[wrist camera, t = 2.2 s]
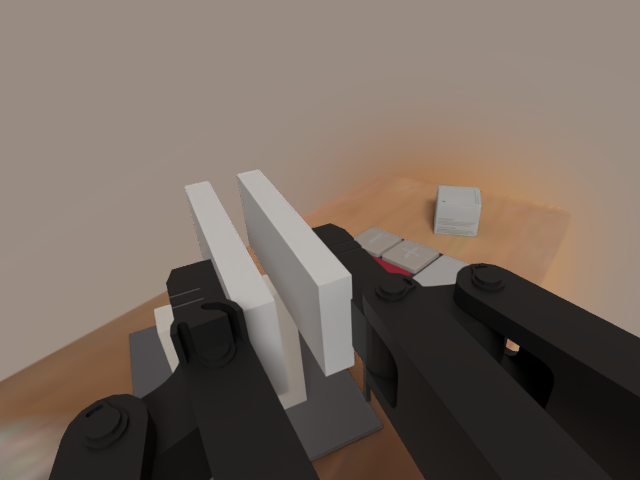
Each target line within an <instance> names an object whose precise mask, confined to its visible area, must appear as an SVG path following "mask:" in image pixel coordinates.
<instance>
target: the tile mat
mask: <svg viewBox="0 0 640 480" xmlns="http://www.w3.org/2000/svg"><path fill="white" fill-rule="evenodd" d="M298 334H299V341H300V349H301V357H302V365H303V373H304V380H305V388H306V396H307V400H306V401H304V402H302V403H299V404H297V405H294V406H292V407H290V408H287V409H285V412H286V414H287V416H288V418H289V420H290V422H291V424H292V426H293V428H294V430H295V431H296V433H297V435H298V437H299V439H300V441H301V443H302V445H303V447H304V449H305V451H306V453H307V455H308V457H309V459H310V461H311V462H312V461H314V460H317V459H319V458H321V457H323V456H325V455H327V454H329V453H331V452H333V451H336V450H338V449H340V448H342V447H344V446H346V445H348V444H350V443H352V442H355V441H357V440H359V439H361V438H363V437H365V436H367V435H369V434H371V433H373V432H376V431H378V430H380V429H382V428H383V424H382V422H381V421H380V419H379V418H378V416H377V414H376V413H375V411H374V410H373V408H372V407H371V405H370V404H369V402H366V400H365V397H364V394H363V393H362V391H361V390H360V388H359V387H358V385H357V383H356V382H355V380H354V379H353V377H352V376H351V374H350V373H349V371H348V370H347V368H346V369H344V370H341V371H339V372H336V373H334V374H331V375H329V376H327V377H326V376H325V374H324V372H323V371H322V369H321V367H320V365H319V364H318V362H317V360H316V359H315V357H314V355H313V353H312V352H311V350H310V348H309V346H308V345H307V343H306V341H305V340H304V338H303V336H302V334H301V333H300V331H299V329H298ZM129 339H130V352H131V366H132V379H133V393H134V396H135V397H138V398H140V399H141V398H142V397H144V396H145V395H147V394H149V393H150V392H152V391H153V390H155V389H156V388H157V387H159V386H160V385H161V384H163V383H164V382H165V381H166V380H167V379H168V378H169V377H170V376H171V375H172V374H173V372H172V370H171V367H170V364H169V362H168V359H167V356H166V354H165V351H164V348H163V346H162V343H161V341H160V338H159V335H158V332H157V325H156V326H153V327H150V328H147V329H144V330H141V331H138V332H135V333H131V334H129ZM210 480H213V477H212V478H211V479H210Z"/></svg>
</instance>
